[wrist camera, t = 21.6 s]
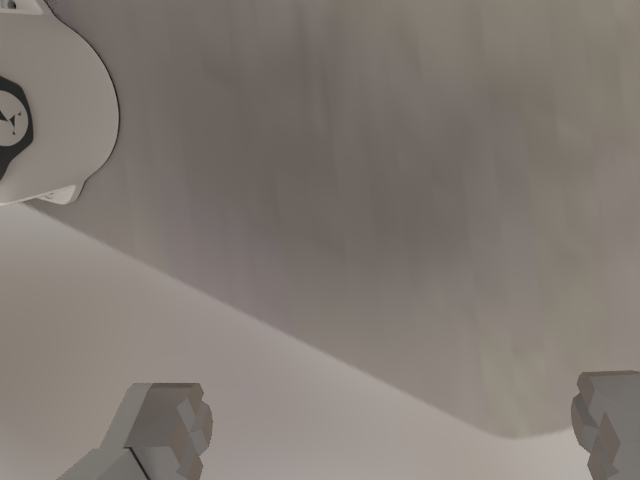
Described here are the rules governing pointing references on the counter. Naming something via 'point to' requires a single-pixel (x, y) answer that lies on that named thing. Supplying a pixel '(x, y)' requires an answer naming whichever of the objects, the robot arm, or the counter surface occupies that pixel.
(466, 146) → the counter surface
